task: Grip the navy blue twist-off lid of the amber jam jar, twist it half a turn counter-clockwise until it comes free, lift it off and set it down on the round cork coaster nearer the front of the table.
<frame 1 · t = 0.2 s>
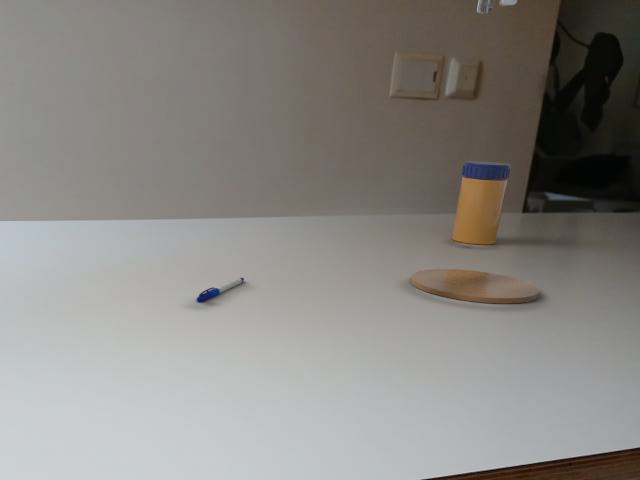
hand: (495, 9, 100), 31 cm above the table, tool pointing down, fingers open, 8 cm apart
jar: (473, 240, 109), on the table
ballpoint pen: (221, 294, 76), on the table
coaster: (472, 287, 81), on the table
lid: (486, 165, 105), point 11 cm above the table, screwed on, not yet turned
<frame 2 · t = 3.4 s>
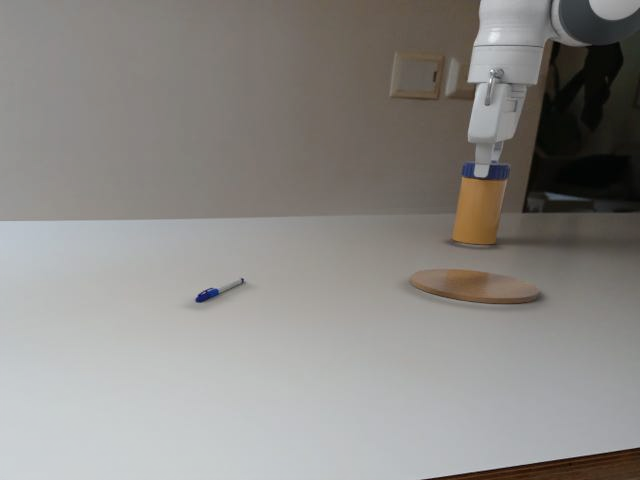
hand: (484, 174, 105), 9 cm above the table, tool pointing down, fingers closed on lid, 6 cm apart
lid: (486, 165, 105), point 11 cm above the table, screwed on, not yet turned, touching gripper
everything else where it was.
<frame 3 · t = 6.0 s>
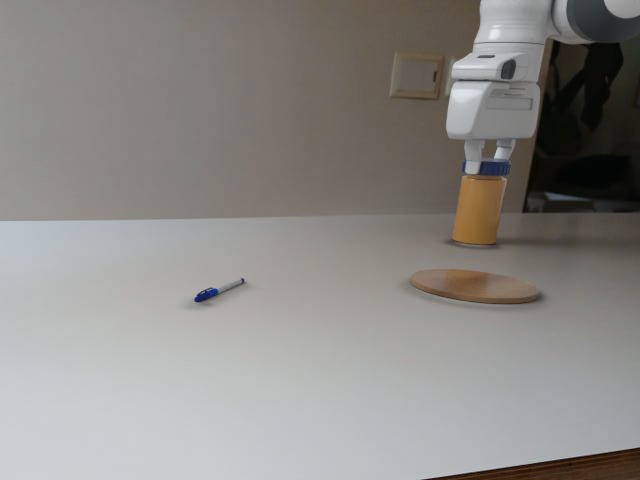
hand: (485, 172, 105), 10 cm above the table, tool pointing down, fingers closed on lid, 6 cm apart
lid: (487, 162, 105), point 11 cm above the table, off its thread, touching gripper
everything else where it was.
when the fingers open (1 cm above the table, at t = 15.3 s): lid stays where it is, resting on coaster.
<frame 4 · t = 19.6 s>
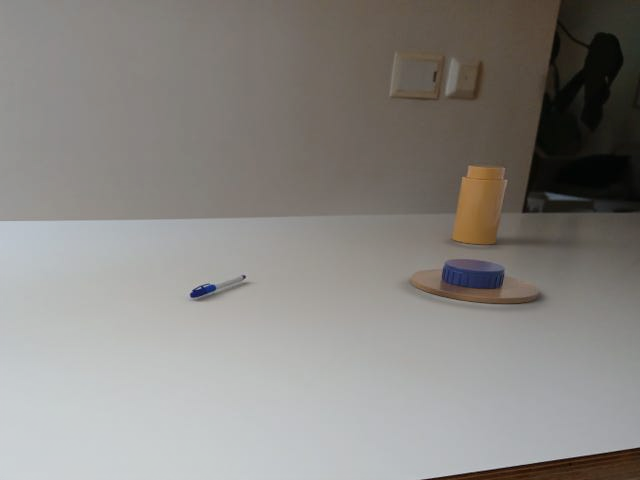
lid: (473, 268, 80), point 2 cm above the table, off its thread, touching coaster
everything else where it was.
at the end: lid came off its thread; lid inside the target area on the coaster (0.2 cm from its centre), point 2.1 cm above the coaster's base; the gripper is holding nothing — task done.
